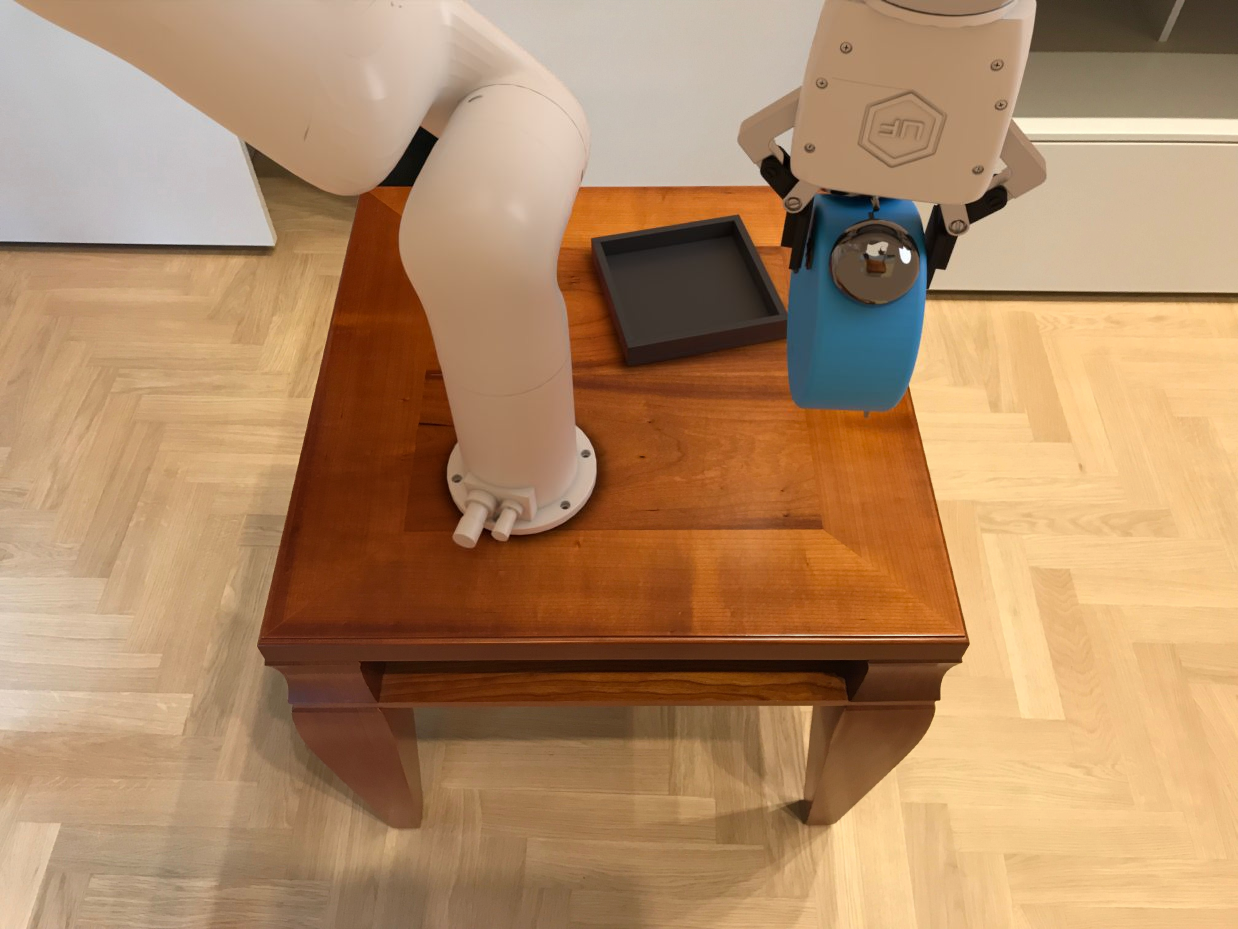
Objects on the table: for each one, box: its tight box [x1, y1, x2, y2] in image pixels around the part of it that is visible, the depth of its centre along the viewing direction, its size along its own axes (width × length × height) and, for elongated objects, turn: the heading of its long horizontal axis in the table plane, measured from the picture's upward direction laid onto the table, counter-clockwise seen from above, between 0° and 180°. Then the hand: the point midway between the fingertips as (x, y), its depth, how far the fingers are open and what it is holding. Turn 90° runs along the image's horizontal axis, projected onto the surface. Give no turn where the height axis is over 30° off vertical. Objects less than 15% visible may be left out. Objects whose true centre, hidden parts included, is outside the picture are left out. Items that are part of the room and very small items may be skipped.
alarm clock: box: [786, 188, 927, 419], centre depth 58 cm, size 13×6×15 cm, turn 177°
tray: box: [590, 213, 788, 368], centre depth 92 cm, size 16×16×3 cm
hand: (859, 261), depth 56 cm, fingers closed on alarm clock, 6 cm apart
